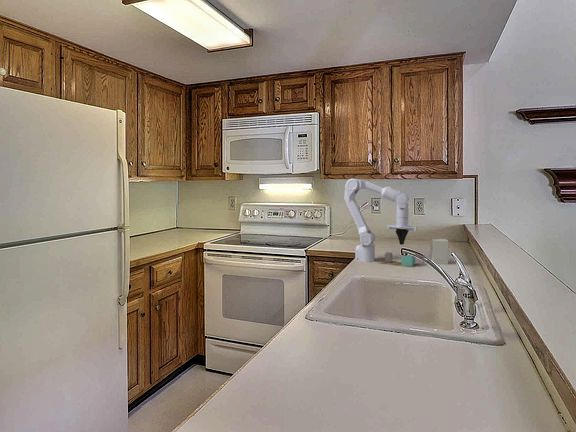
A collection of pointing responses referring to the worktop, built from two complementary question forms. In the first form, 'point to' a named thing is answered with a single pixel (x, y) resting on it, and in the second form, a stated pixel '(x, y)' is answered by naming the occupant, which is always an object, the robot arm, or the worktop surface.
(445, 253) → the supplement box
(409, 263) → the aqua toy cube
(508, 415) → the worktop surface
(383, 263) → the walnut board
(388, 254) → the post
